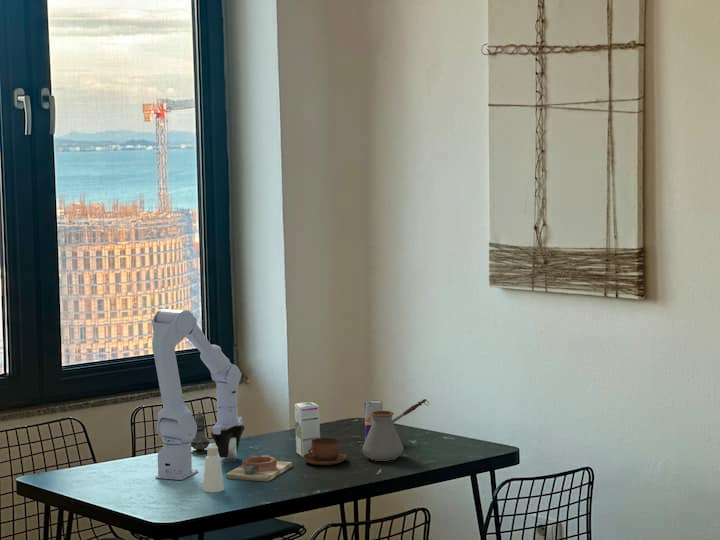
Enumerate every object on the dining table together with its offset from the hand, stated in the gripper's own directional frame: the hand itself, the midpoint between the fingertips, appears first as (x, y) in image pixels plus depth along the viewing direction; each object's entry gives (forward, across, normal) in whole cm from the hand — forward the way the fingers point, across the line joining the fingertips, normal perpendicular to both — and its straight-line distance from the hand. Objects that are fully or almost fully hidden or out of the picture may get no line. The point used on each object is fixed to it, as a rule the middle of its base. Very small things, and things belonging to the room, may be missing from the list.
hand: (228, 454), depth 316 cm
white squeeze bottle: (+2, -29, -10) cm, 31 cm away
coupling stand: (+2, -10, -14) cm, 17 cm away
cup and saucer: (+2, +5, -27) cm, 27 cm away
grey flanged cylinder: (+2, +6, +12) cm, 14 cm away
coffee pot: (+2, +17, -44) cm, 47 cm away
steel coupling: (+2, 0, 0) cm, 2 cm away
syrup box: (+2, +12, -19) cm, 23 cm away
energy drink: (+2, +32, -32) cm, 45 cm away
